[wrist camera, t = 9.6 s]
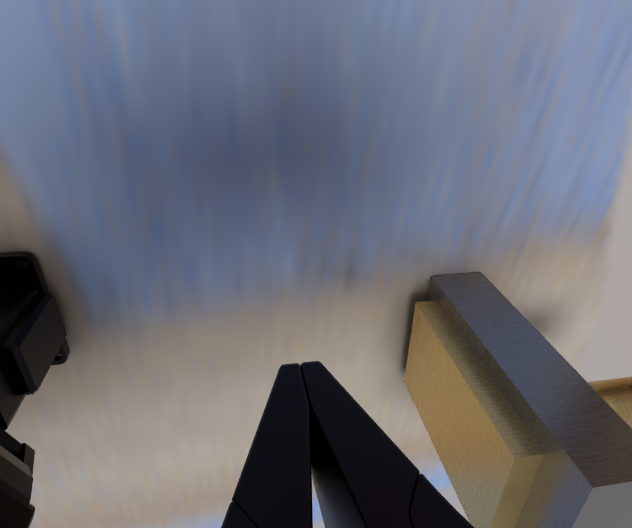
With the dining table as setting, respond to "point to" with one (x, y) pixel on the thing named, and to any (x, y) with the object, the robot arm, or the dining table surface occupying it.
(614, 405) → the brass pin
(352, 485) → the robot arm
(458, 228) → the dining table surface
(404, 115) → the dining table surface
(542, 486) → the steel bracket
